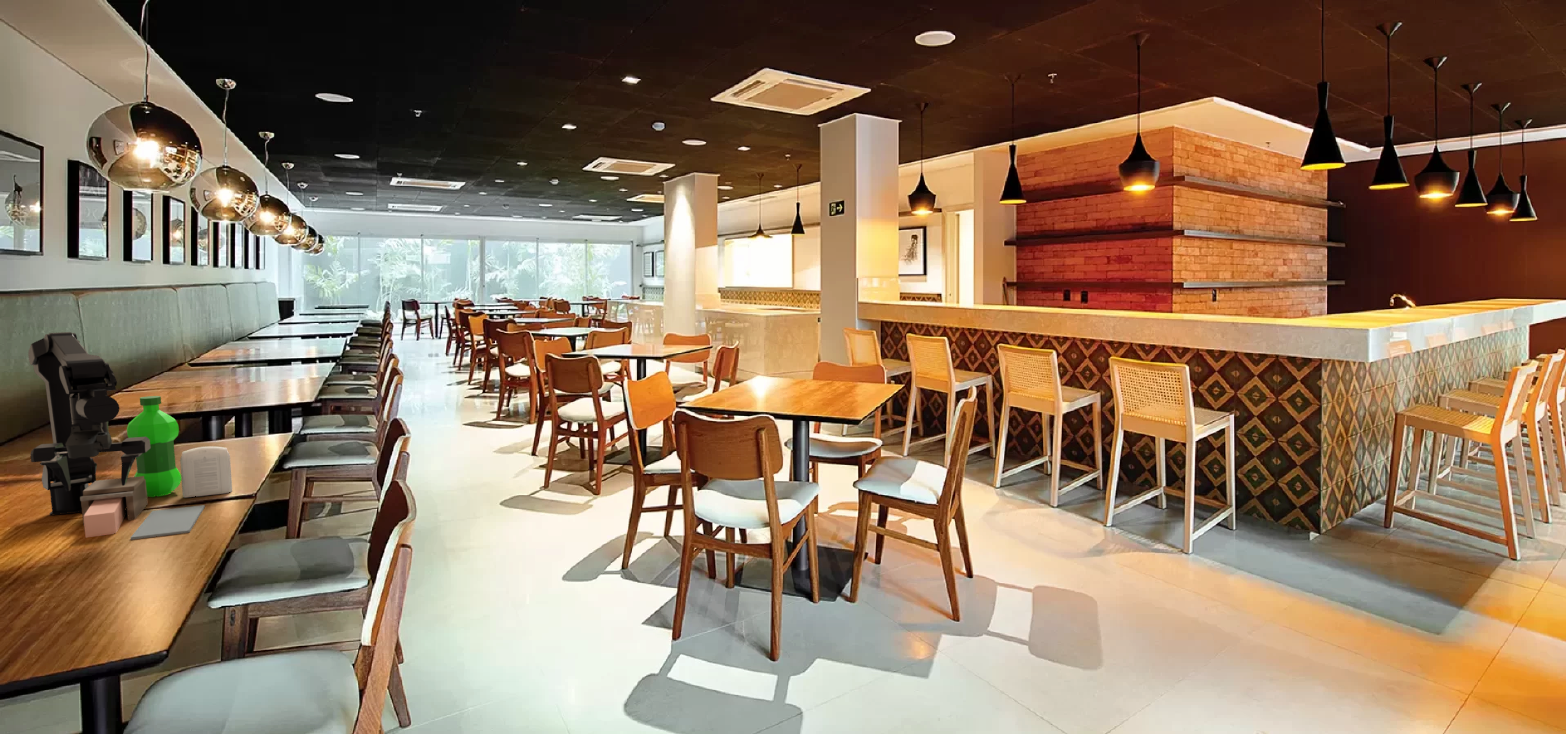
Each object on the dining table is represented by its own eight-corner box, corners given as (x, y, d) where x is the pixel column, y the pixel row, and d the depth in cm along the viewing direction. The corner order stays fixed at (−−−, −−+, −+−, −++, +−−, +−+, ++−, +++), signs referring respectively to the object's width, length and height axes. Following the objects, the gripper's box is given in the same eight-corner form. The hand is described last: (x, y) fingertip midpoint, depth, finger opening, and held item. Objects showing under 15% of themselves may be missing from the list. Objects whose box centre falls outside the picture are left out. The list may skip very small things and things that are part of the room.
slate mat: (130, 539, 165) (130, 537, 165) (152, 512, 183) (152, 510, 183) (189, 532, 169) (189, 530, 169) (204, 507, 188) (204, 505, 188)
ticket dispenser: (82, 525, 173) (79, 493, 172) (99, 509, 185) (96, 479, 184) (134, 519, 178) (131, 488, 177) (147, 504, 190) (145, 474, 189)
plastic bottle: (134, 502, 191) (124, 401, 188) (132, 493, 199) (123, 396, 196) (185, 494, 198) (177, 397, 195) (181, 486, 206) (173, 392, 203)
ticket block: (85, 538, 166) (83, 516, 165) (98, 517, 180) (96, 496, 179) (116, 534, 169) (114, 512, 168) (126, 514, 183) (124, 493, 182)
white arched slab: (233, 489, 203) (229, 443, 202) (232, 493, 199) (228, 446, 198) (183, 495, 197) (179, 447, 196) (182, 499, 194) (177, 450, 192)
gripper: (17, 427, 155) (25, 503, 157) (136, 419, 164) (142, 491, 166) (36, 418, 165) (44, 489, 167) (147, 411, 174) (153, 479, 176)
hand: (96, 487), depth 169 cm, fingers open, 9 cm apart
